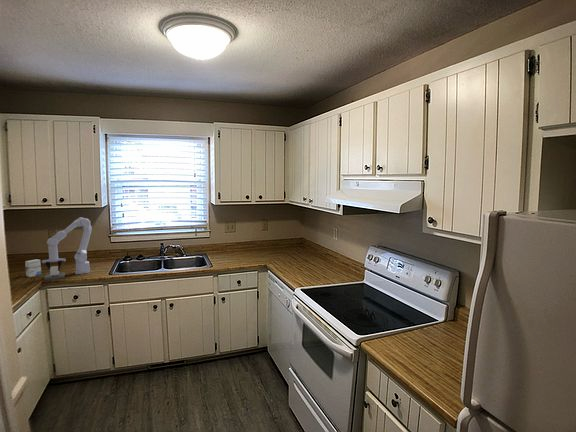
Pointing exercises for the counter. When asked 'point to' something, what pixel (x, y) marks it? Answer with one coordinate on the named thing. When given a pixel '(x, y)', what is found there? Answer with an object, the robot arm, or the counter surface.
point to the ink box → (33, 267)
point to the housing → (54, 270)
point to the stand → (54, 276)
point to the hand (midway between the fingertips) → (54, 271)
